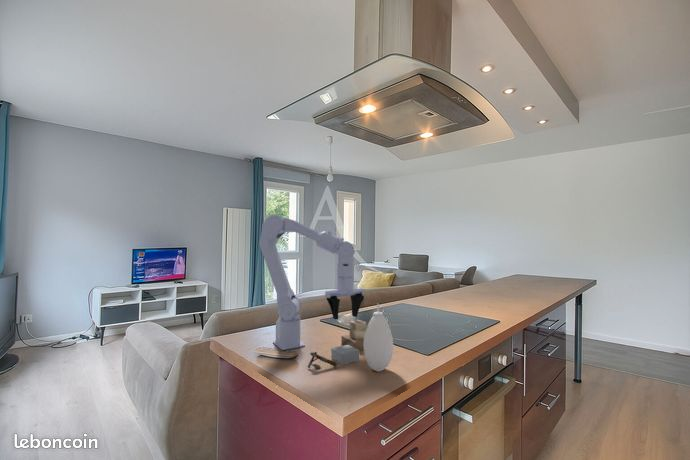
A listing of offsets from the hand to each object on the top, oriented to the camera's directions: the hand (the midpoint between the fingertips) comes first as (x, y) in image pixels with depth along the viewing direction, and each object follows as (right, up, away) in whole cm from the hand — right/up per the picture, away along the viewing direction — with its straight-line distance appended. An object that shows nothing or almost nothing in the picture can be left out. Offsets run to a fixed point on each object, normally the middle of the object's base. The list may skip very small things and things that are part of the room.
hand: (345, 317), depth 106 cm
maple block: (+4, -6, -1) cm, 8 cm away
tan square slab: (+4, -9, -1) cm, 10 cm away
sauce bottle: (+9, -8, -21) cm, 25 cm away
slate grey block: (0, -9, -13) cm, 16 cm away
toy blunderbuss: (-6, -9, -20) cm, 23 cm away
